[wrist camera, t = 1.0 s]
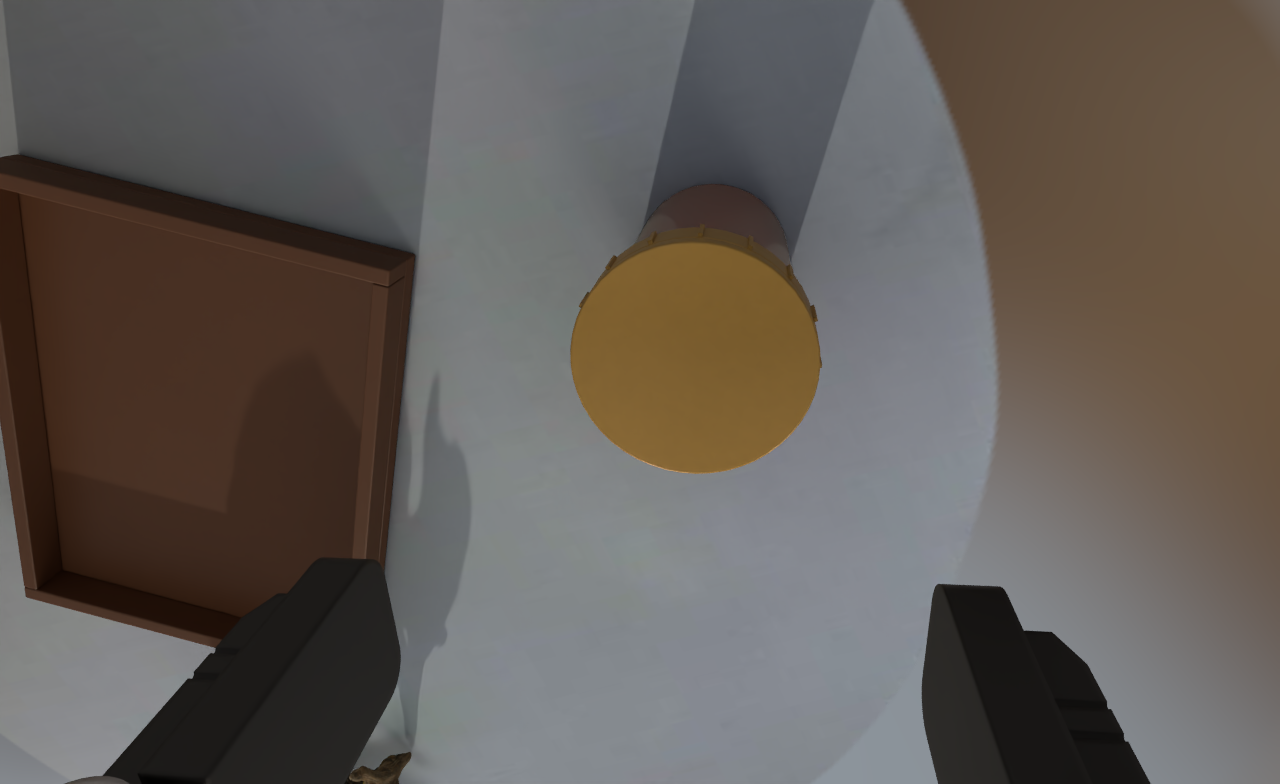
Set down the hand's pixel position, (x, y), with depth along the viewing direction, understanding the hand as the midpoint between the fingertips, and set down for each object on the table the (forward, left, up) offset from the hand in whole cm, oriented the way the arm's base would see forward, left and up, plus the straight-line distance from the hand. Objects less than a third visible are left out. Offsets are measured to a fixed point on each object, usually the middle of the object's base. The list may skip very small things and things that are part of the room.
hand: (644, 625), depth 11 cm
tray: (+12, -18, -19) cm, 29 cm away
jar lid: (0, 0, -10) cm, 10 cm away
